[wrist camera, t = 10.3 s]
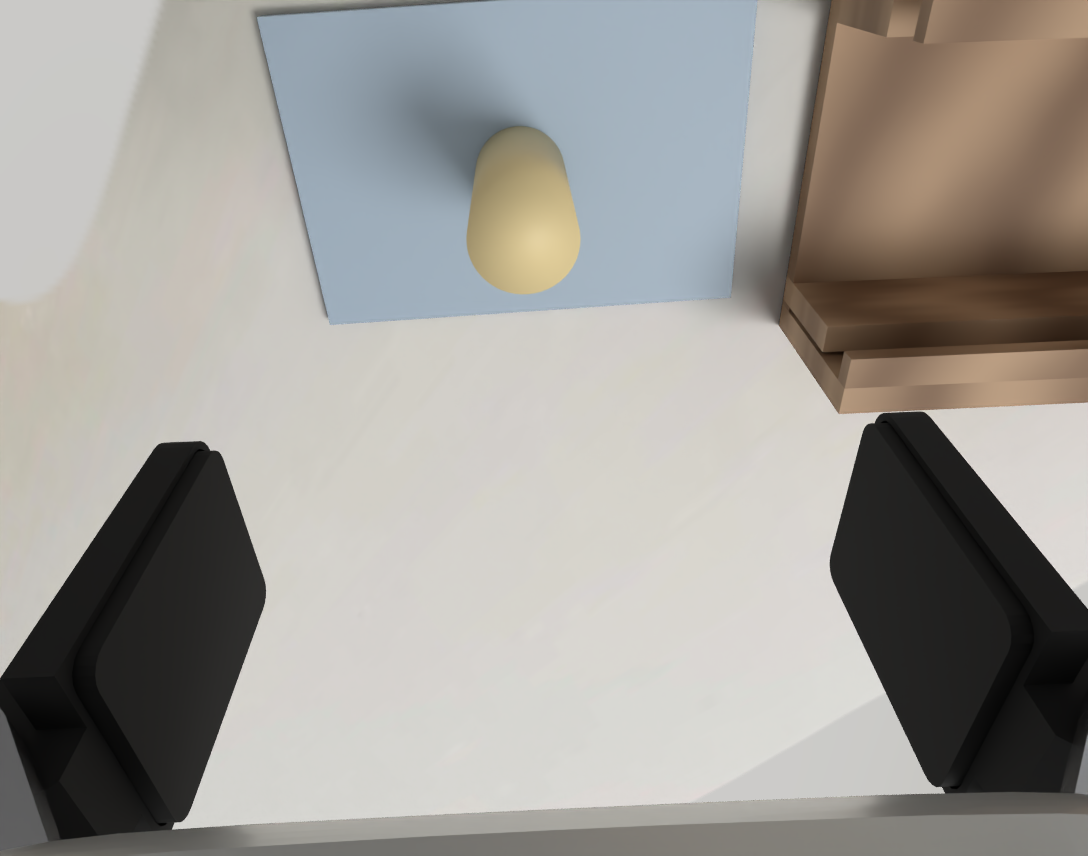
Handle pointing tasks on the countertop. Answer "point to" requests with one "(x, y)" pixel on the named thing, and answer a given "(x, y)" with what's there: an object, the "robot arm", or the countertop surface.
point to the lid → (516, 151)
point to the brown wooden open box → (945, 207)
